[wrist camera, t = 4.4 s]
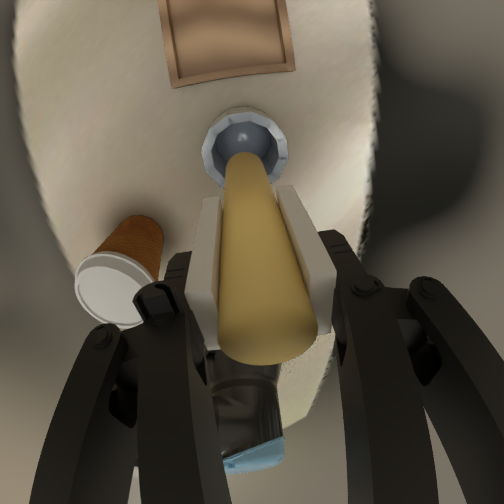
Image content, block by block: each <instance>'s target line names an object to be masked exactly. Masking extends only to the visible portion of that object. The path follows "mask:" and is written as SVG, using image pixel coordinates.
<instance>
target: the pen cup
mask: <svg viewBox="0 0 504 504" xmlns="http://www.w3.org/2000/svg"><path fill="white" fill-rule="evenodd" d="M201 151H202V156H203V161H204V166H205V171H206V172H207V173H208V174H209V175H210V176H211V178H212V179H213V180H214V181H215V182H216V183H217V184H218V185H219V186H220V187H222V188H224V187H225V174H226V165H227V163H228V161H229V159H230V158H231V157H232V156H234V155H235V154H237V153H240V152H250V153H253V154H255V155H257V156H258V157H259V158H260V159H261V161H262V163H263V165H264V168H265V171H266V173H267V176H268V179H269V181H270V184H272V183H273V182H274V181H276V180H277V179H279V177H280V175H281V173H282V171H283V169H284V167H285V165H286V163H287V161H288V150H287V140H286V137H285V136H284V134H283V133H282V132H281V130H280V129H279V128H278V126H277V125H276V124H275V122H274V121H273V120H272V119H271V118H270V117H269V116H268V115H267V114H266V113H264V112H261V111H259V110H257V109H255V108H252V107H248V106H246V107H243V106H242V107H235V108H232V109H228V110H227V111H225V112H224V113H222V114H221V115H220V116H219V117H218V118H217V119H215V120H214V122H213V123H212V125H211V127H210V129H209V131H208V134H207V136H206V139H205V142H204V144H203V147H202V150H201Z"/></svg>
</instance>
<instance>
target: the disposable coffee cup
mask: <svg viewBox="0 0 504 504" xmlns="http://www.w3.org/2000/svg"><path fill="white" fill-rule="evenodd" d="M163 241H164V237H163V233H162V230H161V228H160V227H159V225H158V224H157V223H156V222H154V221H153V220H152V219H150V218H148V217H145V216H141V215H136V216H131V217H129V218H127V219H126V220H124V221H123V222H122V223H121V224H120V225H119V226H118V227H117V228H116V229H115V231H114V232H113V233H112V234H111V235H110V236H109V237H108V238H107V239H106V240H105V241H104V242H103V243H102V244H101V245H100V246H99V247H98V249H97V250H96V251H95V252H94V253H93V254H92V255H90V256H87V257H86V258H85V259H84V260H82V261H81V262H80V264H79V265H78V267H77V270H76V274H75V292H76V295H77V298H78V300H79V302H80V303H81V305H82V306H83V307H84V309H85V310H86V311H87V312H88V313H89V314H91V315H92V316H93V317H94V318H96V319H97V320H99V321H101V322H103V323H112V324H115V325H116V326H117V327H119V328H125V329H129V328H132V327H135V326H137V325H139V324H142V323H143V320H142V318H141V316H140V315H139V313H138V311H137V309H136V307H135V305H134V304H133V302H132V300H133V298H134V295H135V294H136V293H137V292H138V291H139V290H140V289H141V288H142V287H144V286H145V285H147V284H150V283H152V282H155V281H158V277H159V268H160V261H161V254H162V247H163Z"/></svg>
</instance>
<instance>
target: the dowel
mask: <svg viewBox="0 0 504 504" xmlns="http://www.w3.org/2000/svg"><path fill="white" fill-rule="evenodd" d="M317 335H318V324H317V320H316V317H315V314H314V311H313V307H312V304H311V301H310V298H309V295H308V292H307V289H306V286H305V283H304V280H303V277H302V274H301V271H300V267H299V264H298V261H297V258H296V255H295V252H294V250H293V247H292V244H291V241H290V238H289V235H288V232H287V229H286V226H285V223H284V221H283V218H282V215H281V212H280V209H279V206H278V203H277V201H276V198H275V195H274V192H273V190H272V187H271V184H270V181H269V179H268V176H267V173H266V171H265V168H264V165H263V163H262V161H261V159H260V158H259V157H258V156H257V155H255V154H253V153H250V152H240V153H237V154H235V155H234V156H232V157H231V158H230V159H229V161H228V163H227V165H226V174H225V187H224V202H223V219H222V236H221V255H220V277H219V303H218V331H217V340H218V344H219V347H220V349H221V350H222V351H223V352H224V353H225V354H226V355H227V356H228V357H230V358H232V359H234V360H236V361H238V362H241V363H245V364H250V365H273V364H278V363H282V362H286V361H289V360H291V359H293V358H295V357H297V356H299V355H301V354H302V353H304V352H305V351H306V350H308V349H309V348H310V347H311V345H312V344H313V343H314V341H315V340H316V337H317Z"/></svg>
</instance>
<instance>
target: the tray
mask: <svg viewBox="0 0 504 504" xmlns="http://www.w3.org/2000/svg"><path fill="white" fill-rule="evenodd" d="M158 6H159V13H160V20H161V27H162V34H163V40H164V46H165V52H166V58H167V64H168V70H169V75H170V81H171V86H172V88H179V87H183V86H188V85H192V84H197V83H202V82H207V81H213V80H218V79H224V78H231V77H238V76H245V75H253V74H263V73H274V72H289V71H295V70H296V69H295V61H294V53H293V46H292V39H291V33H290V26H289V20H288V14H287V8H286V2H285V0H158Z"/></svg>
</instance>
